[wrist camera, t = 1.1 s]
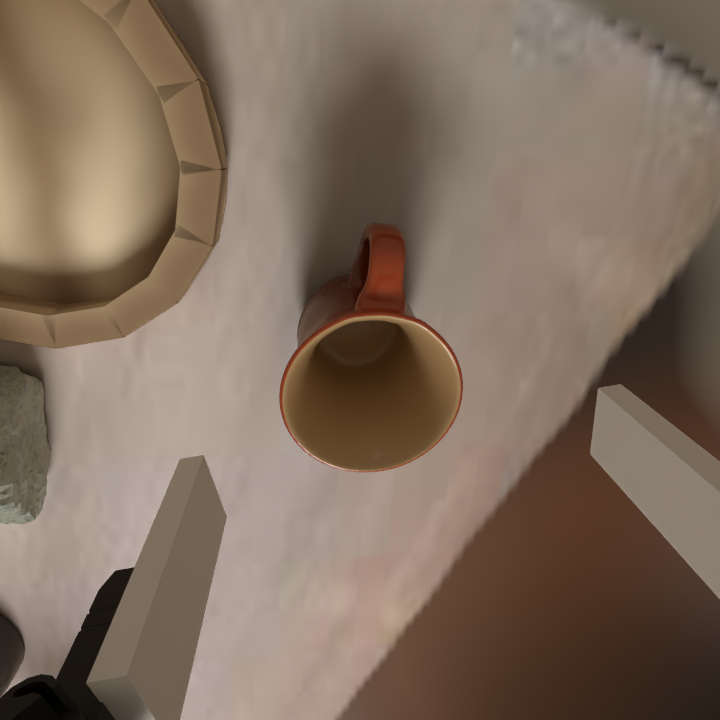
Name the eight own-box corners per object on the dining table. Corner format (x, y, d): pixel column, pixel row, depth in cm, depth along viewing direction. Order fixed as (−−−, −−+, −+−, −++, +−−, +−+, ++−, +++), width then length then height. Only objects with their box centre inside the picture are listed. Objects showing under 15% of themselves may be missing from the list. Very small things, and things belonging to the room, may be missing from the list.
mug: (406, 382, 33) (443, 475, 23) (286, 375, 31) (275, 470, 22) (437, 212, 28) (500, 247, 18) (295, 196, 26) (286, 225, 17)
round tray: (-48, 351, 28) (-83, 371, 26) (-299, -59, 19) (-390, -89, 17) (263, 300, 29) (259, 315, 26) (158, -121, 20) (136, -159, 17)
